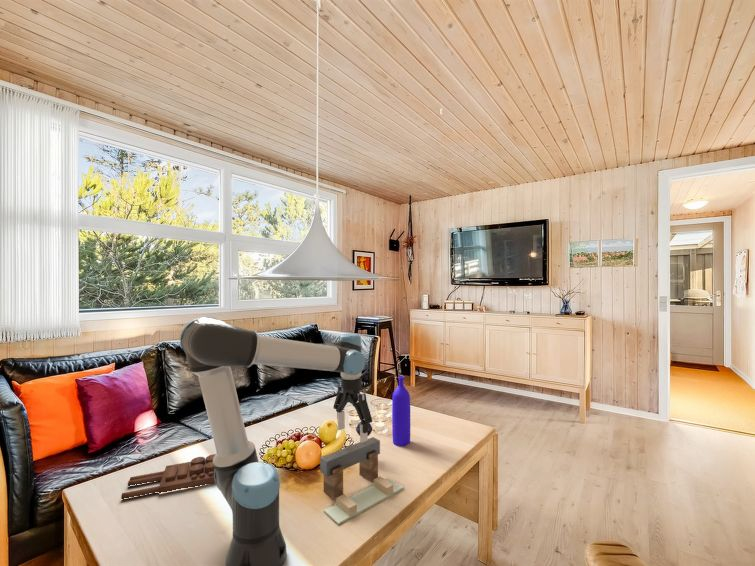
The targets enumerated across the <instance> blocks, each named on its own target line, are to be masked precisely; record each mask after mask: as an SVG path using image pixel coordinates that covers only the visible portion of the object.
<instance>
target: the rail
mask: <svg viewBox="0 0 755 566" xmlns="http://www.w3.org/2000/svg"><path fill="white" fill-rule="evenodd" d="M375 451H378V455H380V454H381V440H380V439H378V438H376V437H374V436H372V437H370V438H369V437H368V440H367V441H365V442H362V443H361V442H360V441H358V442H357V443H354V444H351V445H349V446H347V447H344V448H342V449H339V450H336V451H334V452H331V453H329V454H326V455H324V456H321V457H319V466H320V467H319V469H320V470H319V472H320V473H321V474H322V475H323V476H324V475H325V476H326V477H327V476H330V475H332V470H333V469H335V468H338V467H340V466H343V470H346V469H348V468H351V467H352V466H355V465H357V464H359V463H360V462H362V461H364V460H366V459H369V454H371V453H373V452H375Z"/></svg>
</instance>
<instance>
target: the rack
mask: <svg viewBox="0 0 755 566" xmlns="http://www.w3.org/2000/svg"><path fill="white" fill-rule="evenodd" d="M358 464H359V465H358V466H359V476H360V477H362V478H364V479H365V480H367V481H368V482H372V481H374V479H376V478H378V477H379V454H378V451H375V452H373V453H371V454H369V459H366V460H364V461H362V462H360V463H358ZM323 492H324V493H325V494H326V495H328V496H329V497H330V498H331V499H332V500H335V499H336V498H337V497H339V496H341V495H343V494H344V469H343V466H340V467H338V468H335V469H333V470H332V475H330V476H327V477H326V476H325V475H324V474H323Z"/></svg>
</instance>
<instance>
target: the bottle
mask: <svg viewBox="0 0 755 566" xmlns="http://www.w3.org/2000/svg"><path fill="white" fill-rule="evenodd" d="M397 378H398V386H397V387H396V388H395V390H394V391H393V392H392V400H391V402H392V403H391V405H392V407H391V413H392V414H391V415H392V416H391V417H392V418H391V421H392V422H391V427H392V430H391V431H392V433H391V434H392V443H393V445H395V446H397V447H406V445H407V446H409V445H410V443H411V395H410V394H411V393H410V392H409V390H408V389H407V388H406V387H405V385H404V379H405V376H403V375H402V376H401V375H400V376H398V377H397ZM408 444H409V445H408Z"/></svg>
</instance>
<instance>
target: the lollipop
mask: <svg viewBox="0 0 755 566" xmlns="http://www.w3.org/2000/svg"><path fill="white" fill-rule="evenodd" d="M360 423H361V421H359V423H358V424H357V426H356V428H355V431H356V432H357V436H359V437H360ZM372 432H373V426H372V424H371V423H368V432H367V436H368V437H369V436H370V435H371V433H372Z"/></svg>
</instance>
